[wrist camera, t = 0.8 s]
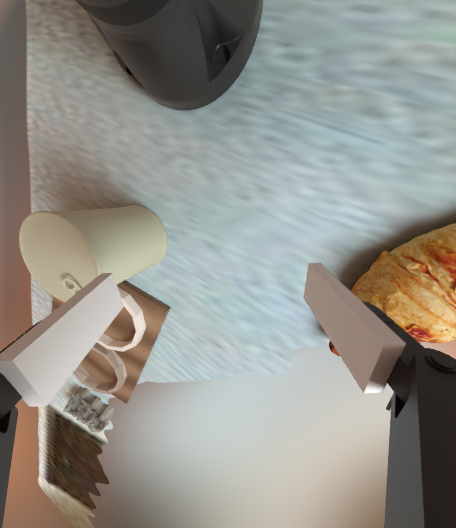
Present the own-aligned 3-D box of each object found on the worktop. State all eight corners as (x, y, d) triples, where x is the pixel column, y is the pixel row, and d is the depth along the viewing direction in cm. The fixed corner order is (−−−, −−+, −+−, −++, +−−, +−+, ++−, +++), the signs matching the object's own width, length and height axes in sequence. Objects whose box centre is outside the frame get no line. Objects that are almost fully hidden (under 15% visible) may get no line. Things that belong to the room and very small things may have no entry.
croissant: (445, 193, 21) (483, 161, 15) (571, 251, 17) (705, 242, 10) (309, 315, 29) (294, 330, 23) (370, 375, 25) (373, 415, 18)
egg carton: (119, 410, 46) (105, 429, 42) (108, 421, 49) (94, 440, 45) (84, 382, 46) (67, 399, 42) (75, 395, 49) (58, 412, 45)
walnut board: (64, 244, 32) (48, 248, 30) (170, 307, 31) (161, 316, 29) (52, 350, 44) (40, 359, 41) (129, 399, 43) (121, 410, 40)
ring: (62, 254, 32) (53, 256, 30) (153, 308, 31) (147, 313, 29) (57, 308, 37) (48, 312, 35) (134, 355, 36) (129, 362, 34)
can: (136, 275, 31) (57, 318, 20) (102, 223, 29) (-5, 240, 18) (179, 251, 27) (114, 289, 16) (144, 192, 26) (45, 189, 15)
